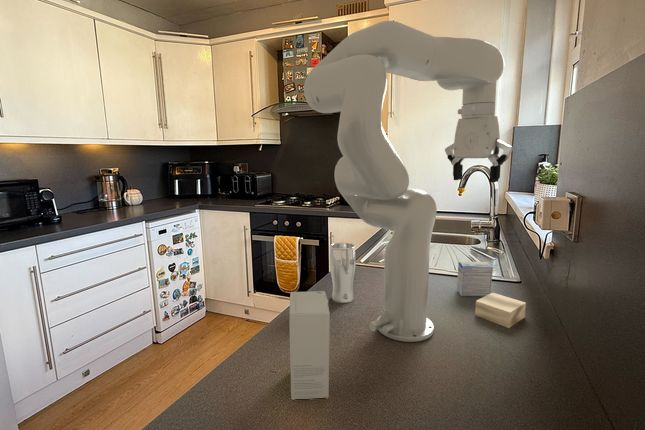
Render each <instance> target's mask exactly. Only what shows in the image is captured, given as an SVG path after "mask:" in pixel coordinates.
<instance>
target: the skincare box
mask: <svg viewBox="0 0 645 430" xmlns="http://www.w3.org/2000/svg"><path fill="white" fill-rule="evenodd" d="M289 294H290V296H289V360H290V361H289V364H290V400H291V399H309V398H323V397H327V398H326V399H329V398H330V397H329V396H330V392H329V389H330V380H329V379H330V378H329V377H330V375H329V374H330V329H331V328H330V326H331V325H330V321H331V318H330V317H331V316H330V315H331V313H330V308H329V299H328V298H327V293H326V291H325V290H315V291H314V290H313V291H311V290H310V291H291V292H290V293H289ZM328 397H329V398H328Z"/></svg>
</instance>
